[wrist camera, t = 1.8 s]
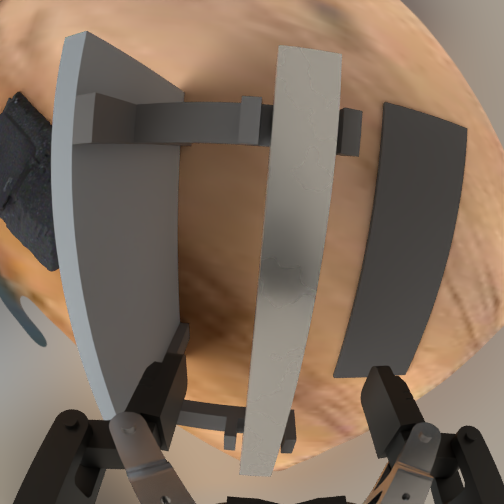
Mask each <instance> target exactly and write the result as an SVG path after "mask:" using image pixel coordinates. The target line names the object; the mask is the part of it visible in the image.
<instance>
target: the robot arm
mask: <svg viewBox="0 0 504 504" xmlns="http://www.w3.org/2000/svg"><path fill="white" fill-rule="evenodd" d="M186 391H187V367H186V356H185V354H179V353H172V352H167V353H166V356H165V358H164V360H163V362H162V363H161V362H156V361H154V362H153V363H152V364H151V365H149V366H148V367H147V368H146V369H145V371H144V373H143V375H142V378H141V379H140V381H139V383H138V385H137V387H136V389H135V391H134V393H133V395H132V397H131V399H130V401H129V403H128V405H127V407H126V409H125V411H124V412H122V413H119V414H117V415H115V416H114V417H113V418H112V419H111V420H88V418H87V417H86V415H85V414H84V413H82V412H81V411H78V410H72V409H71V410H66V411H64V412H61V413H60V414H59V415H58V416H57V417H56V419H55V421H54V423H53V424H52V426H51V428H50V430H49V432H48V434H47V435H46V437H45V439H44V441H43V443H42V445H41V447H40V448H39V450H38V452H37V454H36V456H35V458H34V460H33V462H32V464H31V466H30V468H29V470H28V472H27V474H26V476H25V478H24V480H23V483H22V485H21V487H20V489H19V491H18V493H17V496H16V498H15V500H14V503H13V504H95V501H96V498H97V495H98V492H99V489H100V486H101V483H102V480H103V477H104V474H105V471H106V469H125V470H126V472H127V476H128V479H129V481H130V483H131V485H132V487H133V489H134V491H135V493H136V495H137V497H138V499H139V501H140V503H141V504H196V503H195V501H194V500H193V498H192V497H191V495H190V494H189V492H188V491H187V489H186V488H185V486H184V485H183V483H182V482H181V480H180V478H179V477H178V475H177V474H176V472H175V470H174V469H173V467H172V466H171V464H170V463H169V462H167V460H166V459H165V457H164V456H163V454H162V452H161V450H165V451H169V447H170V444H171V441H172V437H173V434H174V431H175V427H176V424H177V421H178V417H179V414H180V411H181V408H182V404H183V401H184V398H185V395H186ZM361 404H362V407H363V410H364V413H365V416H366V420H367V423H368V426H369V430H370V433H371V436H372V439H373V443H374V446H375V450H376V453H377V457H378V459H379V458H385V457H387V458H388V463H387V464H386V466H385V468H384V469H383V471H382V473H381V475H380V477H379V479H378V480H377V482H376V484H375V486H374V487H373V489H372V491H371V493H370V494H369V496H368V497H367V498H366V500H365V501H364V502H363V503H362V504H424V502H425V500H426V497H427V495H428V492H429V489H430V488H431V491H432V495H433V499H434V503H435V504H504V484H503V481H502V479H501V476H500V474H499V472H498V469H497V467H496V465H495V462H494V460H493V458H492V456H491V454H490V451H489V449H488V447H487V445H486V443H485V441H484V439H483V437H482V435H481V433H480V431H479V430H478V429H476V428H475V427H472V426H464V427H461V428H460V429H459V431H458V432H457V433H456V434H448V433H440V431H439V429H438V428H437V427H436V426H434V425H433V424H430V423H427V422H425V421H424V418H423V416H422V414H421V412H420V410H419V408H418V406H417V404H416V402H415V400H414V399H413V396H412V394H411V393H410V390H409V388H408V386H407V384H406V382H404V381H403V380H402V379H401V378H400V377H399V376H395V375H394V373H393V371H392V369H391V368H390V366H388V365H386V366H373V367H371V369H370V372H369V374H368V377H367V379H366V382H365V384H364V386H363V389H362V392H361ZM459 469H460V470H461V473H462V476H463V478H464V481H465V487H463V484H462V481H461V478H460V475H459V472H458V470H459ZM218 504H278V503H274V502H269V501H265V500H261V499H254V498H239V497H227V502H226V503H218ZM297 504H355V503H350V502H346V497H345V496H336V497H327V498H316V499H313V500H309V501H306V502H301V503H297Z"/></svg>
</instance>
